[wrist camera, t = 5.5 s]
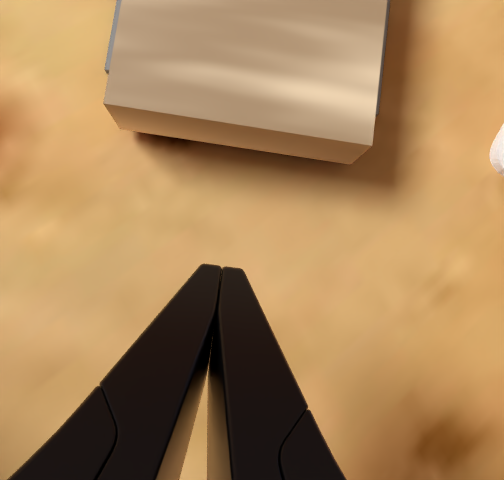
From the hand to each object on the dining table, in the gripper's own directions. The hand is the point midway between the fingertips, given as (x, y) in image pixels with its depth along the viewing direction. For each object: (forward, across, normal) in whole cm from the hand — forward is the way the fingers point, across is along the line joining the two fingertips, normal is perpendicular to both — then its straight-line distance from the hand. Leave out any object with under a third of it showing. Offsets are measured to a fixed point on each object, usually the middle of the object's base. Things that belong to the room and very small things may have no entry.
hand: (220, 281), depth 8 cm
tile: (+8, 0, 0) cm, 8 cm away
